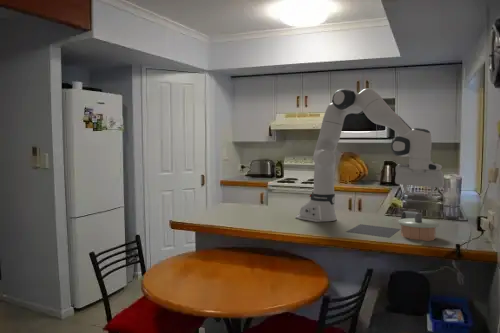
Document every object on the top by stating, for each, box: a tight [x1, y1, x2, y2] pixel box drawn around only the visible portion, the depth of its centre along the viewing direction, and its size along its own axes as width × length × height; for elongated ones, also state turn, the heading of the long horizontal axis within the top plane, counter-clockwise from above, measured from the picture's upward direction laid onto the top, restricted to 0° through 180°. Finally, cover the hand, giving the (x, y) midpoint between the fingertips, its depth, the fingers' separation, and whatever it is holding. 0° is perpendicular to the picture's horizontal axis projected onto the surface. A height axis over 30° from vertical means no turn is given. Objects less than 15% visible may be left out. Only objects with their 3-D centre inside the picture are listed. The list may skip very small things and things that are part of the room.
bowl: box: [400, 224, 437, 242], centre depth 185 cm, size 14×14×6 cm
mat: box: [345, 224, 401, 239], centre depth 196 cm, size 20×20×1 cm
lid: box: [397, 212, 440, 228], centre depth 185 cm, size 17×17×5 cm
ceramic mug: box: [400, 210, 419, 219], centre depth 209 cm, size 11×8×8 cm
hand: (418, 195), depth 183 cm, fingers open, 8 cm apart
